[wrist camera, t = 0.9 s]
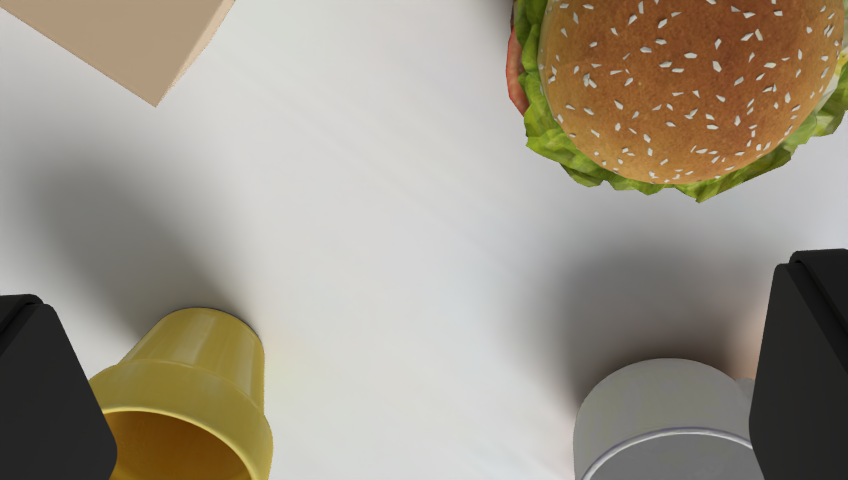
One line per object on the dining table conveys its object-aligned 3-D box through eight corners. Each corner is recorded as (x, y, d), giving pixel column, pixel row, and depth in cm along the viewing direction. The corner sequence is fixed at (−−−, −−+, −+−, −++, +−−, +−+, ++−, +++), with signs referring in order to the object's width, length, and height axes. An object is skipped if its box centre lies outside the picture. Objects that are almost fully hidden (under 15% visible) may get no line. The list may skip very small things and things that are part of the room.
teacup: (603, 481, 50) (625, 597, 43) (530, 370, 45) (541, 481, 38) (825, 410, 46) (887, 525, 39) (770, 278, 41) (830, 385, 34)
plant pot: (301, 289, 42) (262, 421, 34) (296, 421, 48) (261, 562, 40) (112, 266, 42) (26, 394, 34) (129, 402, 48) (59, 540, 40)
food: (772, 167, 37) (839, 261, 31) (483, 132, 37) (486, 220, 30) (899, -149, 30) (1024, -115, 23) (536, -195, 29) (558, -175, 23)
